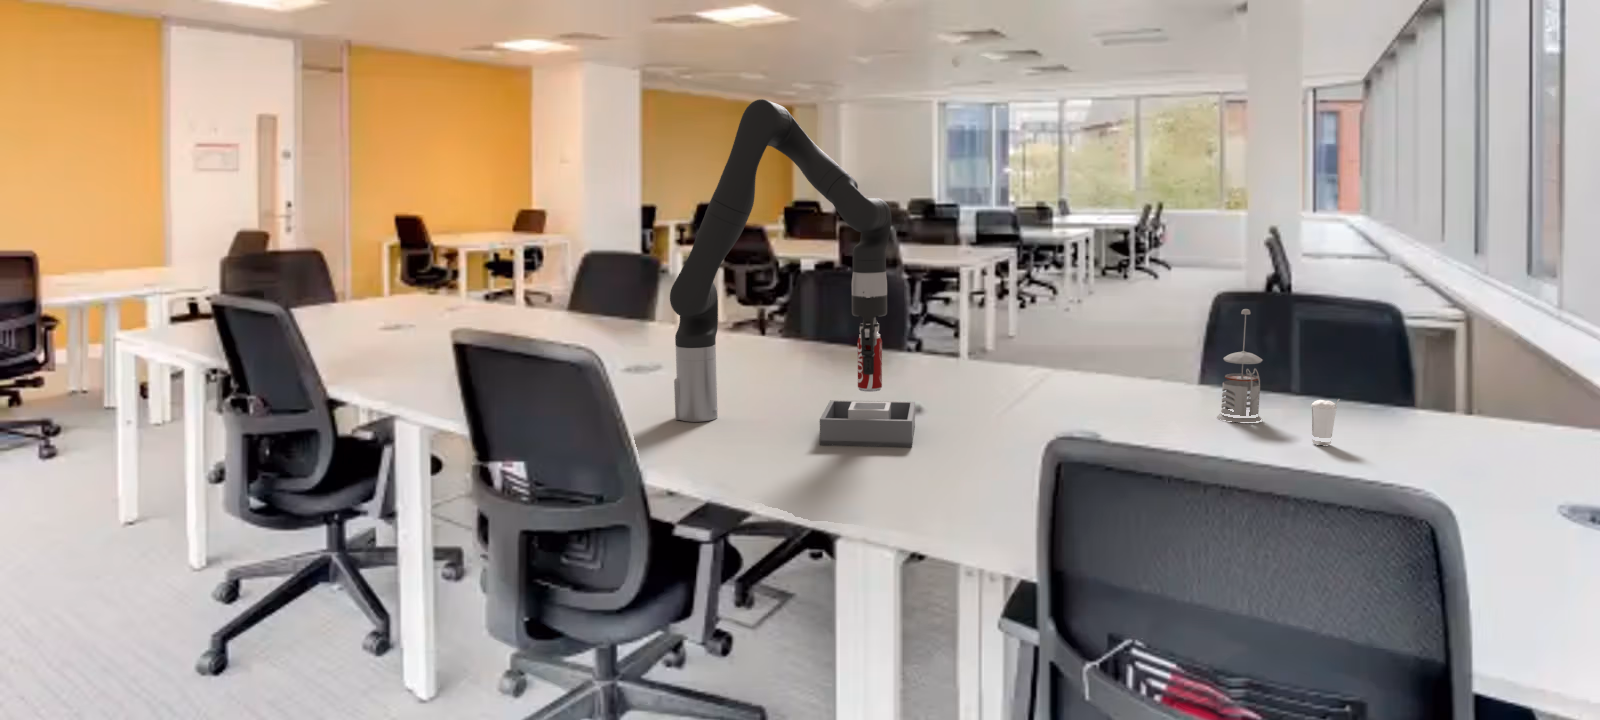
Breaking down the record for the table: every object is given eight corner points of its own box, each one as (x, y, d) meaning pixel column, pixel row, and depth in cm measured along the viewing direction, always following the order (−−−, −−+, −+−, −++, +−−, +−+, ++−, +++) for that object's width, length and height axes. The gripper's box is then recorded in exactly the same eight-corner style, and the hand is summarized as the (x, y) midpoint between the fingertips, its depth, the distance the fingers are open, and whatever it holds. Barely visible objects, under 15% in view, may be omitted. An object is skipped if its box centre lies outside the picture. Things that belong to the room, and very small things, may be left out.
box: (819, 445, 213) (819, 416, 212) (830, 424, 232) (830, 398, 231) (911, 447, 210) (912, 418, 209) (915, 425, 229) (915, 399, 228)
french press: (1250, 413, 237) (1257, 305, 233) (1275, 425, 225) (1282, 312, 221) (1208, 414, 236) (1214, 306, 232) (1231, 426, 225) (1237, 312, 221)
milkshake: (1328, 449, 205) (1331, 400, 203) (1303, 443, 209) (1307, 395, 208) (1342, 446, 207) (1346, 397, 205) (1318, 440, 211) (1322, 393, 210)
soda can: (880, 392, 219) (880, 336, 217) (856, 391, 220) (855, 335, 218) (883, 387, 224) (883, 332, 222) (859, 386, 225) (859, 332, 223)
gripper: (854, 289, 226) (855, 365, 228) (848, 296, 212) (849, 377, 214) (889, 289, 225) (889, 366, 227) (885, 296, 211) (885, 378, 213)
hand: (869, 371), depth 221 cm, fingers closed on soda can, 5 cm apart
